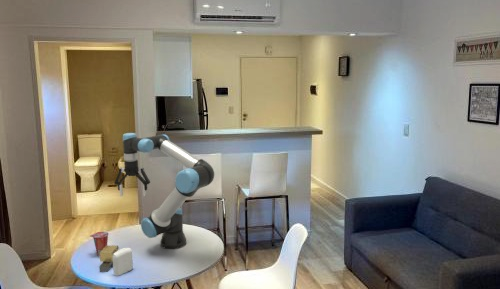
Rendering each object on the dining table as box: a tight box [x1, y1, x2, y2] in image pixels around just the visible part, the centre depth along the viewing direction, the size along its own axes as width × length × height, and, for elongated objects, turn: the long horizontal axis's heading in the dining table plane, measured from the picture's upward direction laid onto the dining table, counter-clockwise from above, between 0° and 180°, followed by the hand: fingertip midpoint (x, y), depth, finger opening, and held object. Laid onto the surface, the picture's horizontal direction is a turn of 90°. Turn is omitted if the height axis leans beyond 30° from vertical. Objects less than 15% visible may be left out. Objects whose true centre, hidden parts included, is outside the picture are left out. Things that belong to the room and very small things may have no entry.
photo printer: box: [112, 247, 134, 277], centre depth 210 cm, size 10×4×12 cm, turn 140°
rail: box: [98, 262, 113, 273], centre depth 220 cm, size 18×4×3 cm, turn 178°
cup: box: [89, 231, 109, 257], centre depth 230 cm, size 9×8×12 cm
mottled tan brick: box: [99, 245, 119, 263], centre depth 219 cm, size 6×9×8 cm
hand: (133, 195), depth 238 cm, fingers open, 13 cm apart
